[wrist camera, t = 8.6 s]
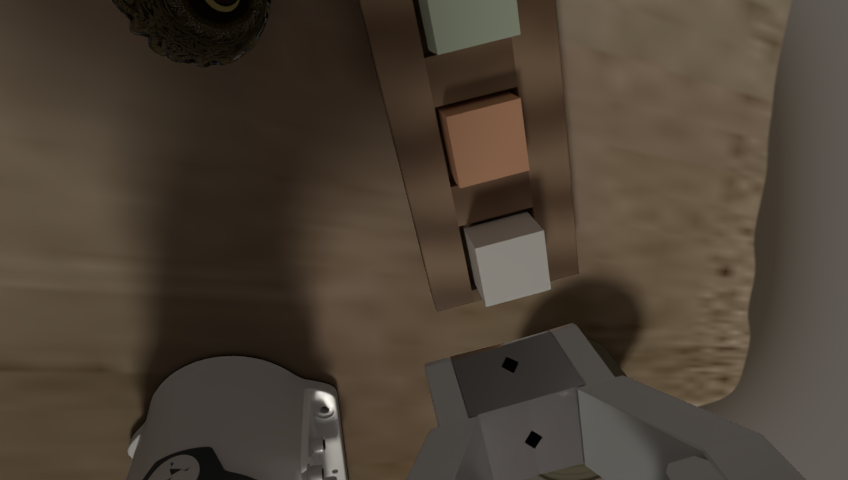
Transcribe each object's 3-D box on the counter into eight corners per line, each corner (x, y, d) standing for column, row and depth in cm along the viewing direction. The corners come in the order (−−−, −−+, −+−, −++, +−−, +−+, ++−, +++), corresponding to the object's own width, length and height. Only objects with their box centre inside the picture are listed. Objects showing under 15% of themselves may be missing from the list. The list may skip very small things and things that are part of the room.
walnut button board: (564, 256, 44) (579, 273, 41) (430, 292, 43) (437, 311, 41) (529, -92, 32) (546, -101, 29) (346, -49, 32) (346, -53, 29)
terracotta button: (513, 156, 38) (529, 170, 35) (449, 173, 38) (459, 188, 35) (504, 89, 36) (520, 98, 32) (436, 106, 35) (445, 117, 32)
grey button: (534, 267, 40) (551, 289, 37) (474, 283, 40) (486, 307, 37) (527, 211, 38) (543, 230, 35) (463, 228, 38) (475, 248, 35)
